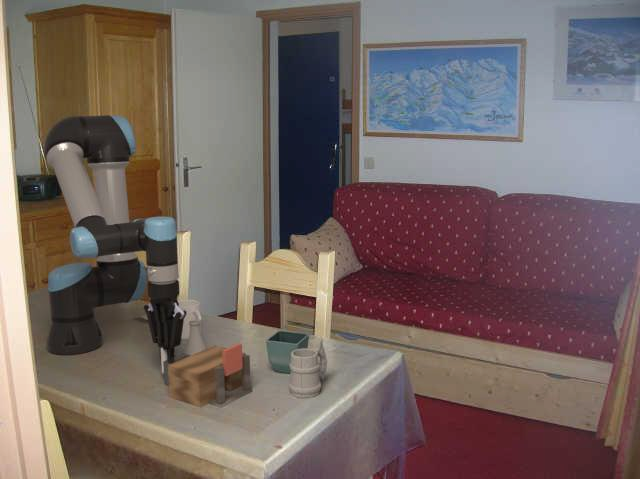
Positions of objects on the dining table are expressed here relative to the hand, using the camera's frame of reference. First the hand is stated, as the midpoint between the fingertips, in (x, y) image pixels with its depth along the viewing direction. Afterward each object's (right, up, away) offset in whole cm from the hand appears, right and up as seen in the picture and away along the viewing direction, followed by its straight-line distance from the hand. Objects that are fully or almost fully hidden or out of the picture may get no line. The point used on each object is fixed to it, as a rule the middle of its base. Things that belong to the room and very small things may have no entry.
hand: (167, 371), depth 175 cm
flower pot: (+30, -1, +5) cm, 30 cm away
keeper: (+18, +2, -13) cm, 22 cm away
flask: (+4, +1, +16) cm, 16 cm away
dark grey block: (+7, -2, -4) cm, 8 cm away
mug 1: (0, +4, +32) cm, 32 cm away
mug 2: (+36, -3, -7) cm, 37 cm away
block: (+13, -3, -8) cm, 16 cm away
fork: (-14, +6, +44) cm, 47 cm away
